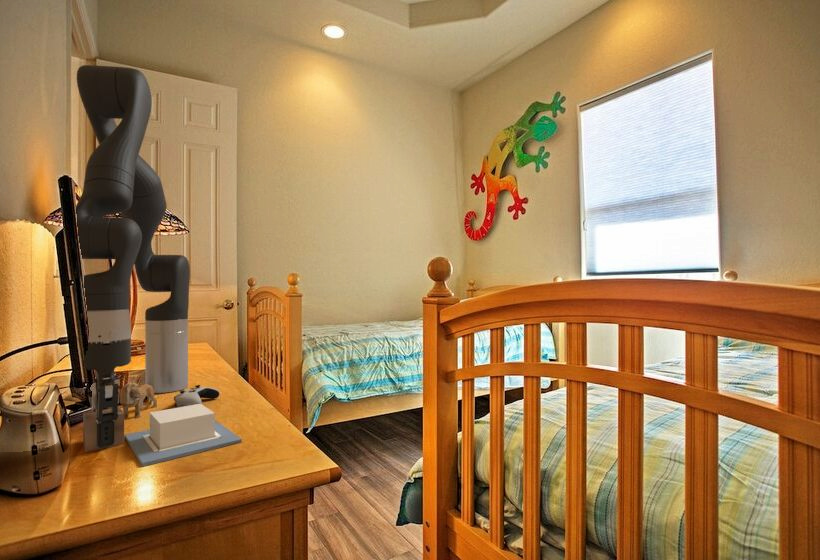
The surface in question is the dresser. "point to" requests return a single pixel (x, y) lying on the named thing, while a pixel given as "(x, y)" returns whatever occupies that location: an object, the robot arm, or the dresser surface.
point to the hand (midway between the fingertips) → (103, 440)
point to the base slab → (181, 425)
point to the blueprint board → (152, 454)
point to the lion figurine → (136, 397)
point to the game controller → (195, 396)
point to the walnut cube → (91, 430)
